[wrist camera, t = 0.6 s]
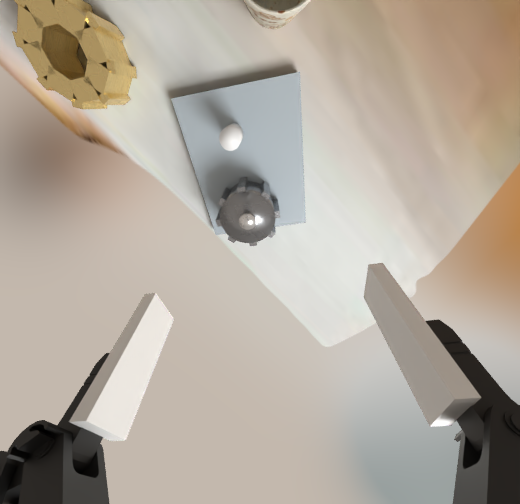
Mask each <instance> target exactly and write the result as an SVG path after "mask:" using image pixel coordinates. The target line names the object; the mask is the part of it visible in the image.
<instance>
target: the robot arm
mask: <svg viewBox="0 0 520 504" xmlns="http://www.w3.org/2000/svg"><path fill="white" fill-rule="evenodd" d="M364 299H365V301H366V303H367V305H368V307H369V308H370V310H371V312H372V314H373V316H374V318H375V320H376V322H377V324H378V326H379V328H380V330H381V332H382V334H383V336H384V338H385V340H386V342H387V344H388V346H389V347H390V349H391V351H392V353H393V355H394V357H395V359H396V361H397V363H398V365H399V367H400V369H401V371H402V373H403V375H404V377H405V379H406V381H407V383H408V385H409V387H410V388H411V390H412V392H413V394H414V396H415V398H416V400H417V402H418V404H419V406H420V408H421V410H422V412H423V414H424V416H425V418H426V420H427V422H428V423H429V425H430V426H448V425H449V426H450V425H452V424H453V423H454V422H455V421H457V422H458V423H459V425H460V426H461V428H462V430H461V431H460V432H459V433H458V434H457V435H456V437H455V439H454V440H456V441H457V442H458V441H460V450H459V458H458V465H457V474H456V482H455V490H454V499H453V504H520V405H518V404H516V403H515V402H514V401H513V400H511V399H510V398H509V396H508V395H507V394H506V393H505V392H504V391H503V390H502V389H501V388H500V386H499V385H498V384H497V383H496V381H495V380H494V379H493V378H492V377H491V375H490V374H489V373H488V372H487V371H486V369H485V368H484V367H483V366H482V364H481V363H480V362H479V361H478V360H477V358H476V357H475V356H474V355H473V354H471V352H470V350H469V349H468V348H467V346H466V345H465V344H463V343H462V340H461V339H460V338H459V337H458V335H457V334H456V333H455V332H454V331H453V329H451V328H450V327H449V326H447V325H446V324H444V323H443V322H442V321H440V320H431V321H425V320H424V319H423V317H422V316H421V315H420V313H419V312H418V311H417V309H416V308H415V307H414V305H413V304H412V302H411V301H410V300H409V298H408V297H407V295H406V294H405V293H404V291H403V290H402V289H401V287H400V286H399V285H398V283H397V282H396V280H395V279H394V278H393V276H392V275H391V274H390V272H389V271H388V270H387V268H386V267H385V265H384V264H383V263H378V264H370V265H368V272H367V278H366V285H365V291H364ZM173 320H174V318H173V317H172V316H171V314H170V313H169V311H168V310H167V308H166V307H165V305H164V304H163V303H162V301H161V300H160V298H159V297H158V295H157V294H156V293H152V294H145V295H144V297H143V298H142V300H141V302H140V303H139V305H138V307H137V309H136V310H135V312H134V314H133V315H132V317H131V319H130V320H129V322H128V324H127V325H126V327H125V329H124V330H123V332H122V334H121V335H120V337H119V339H118V340H117V342H116V344H115V345H114V347H113V349H112V350H111V352H110V353H106V354H105V355H104V356H103V357H102V358H101V359H100V360H99V362H97V363H96V365H95V366H94V368H93V370H92V371H91V373H90V376H89V377H88V378H87V379H86V381H85V383H84V386H82V387H81V389H80V390H79V392H78V394H77V396H76V397H75V399H74V400H73V402H72V403H71V405H70V407H69V408H68V410H67V411H66V413H65V415H64V416H63V418H62V419H61V421H60V422H59V424H58V425H54V424H52V423H49V422H47V421H45V420H41V421H37V422H35V423H33V424H32V425H30V426H29V427H27V428H26V429H25V430H24V431H23V432H22V433H21V434H20V435H19V436H18V437H17V438H16V439H15V440H14V442H13V443H12V445H11V447H10V448H9V450H8V452H4V451H0V504H109V497H108V488H107V480H106V471H105V462H104V453H103V447H102V445H101V444H100V443H101V440H102V438H105V439H108V440H110V441H123V440H126V438H127V435H128V433H129V431H130V428H131V426H132V423H133V421H134V418H135V416H136V413H137V411H138V408H139V406H140V403H141V400H142V398H143V395H144V393H145V390H146V388H147V385H148V383H149V380H150V378H151V375H152V373H153V370H154V368H155V365H156V363H157V360H158V358H159V355H160V353H161V350H162V348H163V345H164V343H165V340H166V338H167V335H168V333H169V330H170V328H171V325H172V322H173Z"/></svg>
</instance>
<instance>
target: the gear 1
mask: <svg viewBox="0 0 520 504" xmlns="http://www.w3.org/2000/svg"><path fill="white" fill-rule="evenodd" d="M14 1H15V2H16V3H17V4H18V22H17V33H16V32H13V31H12V32H13V35H14V39H15V42H16V45H17V47H21V48H22V49H23V51H24V53H25V54H26V56H27V58H28V59H29V61H30V63H31V64H32V66H33V68H34V69H35V71H36V73H37V74H38V76H39V77H38V78H37V80H38V81H39V82H40V83H41V84H42V85H43V86H44V87H45V88H46V89H47V90H55V91H56V92H58V93H60V94H61V95H63V96H64V97H66V98H67V99H69V100H70V101H72V105H73V107H76V108H80V109H105V108H107V105H125V104H126V103H127V102H128V101H129V100H130V98H129V96H128V91H129V88H130V84H131V81H132V78H137V76H136V67H134V66H131V63H130V61H129V58H128V56H127V53H126V50H125V48H124V45H123V43H122V40H123V39H124V38H125V37H124V36H123V35H122V33H121V32H120V30H119V29H118V28H117V26H116V25H114V24H112V23H110V22H108V21H106V20H104V19H102V18H101V17H99V16H97V15H95V14H93V12H92V6H91V5H89V4H88V3H86V2H84V1H82V0H14ZM79 43H80V45H81V47H82V49H83V51H84V53H85V56H86V58H87V60H88V61H87V66H86V72H85V71H84V69H83V67H82V65H81V63H80V61H79V59H78V57H77V52H78V46H79Z"/></svg>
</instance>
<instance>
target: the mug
mask: <svg viewBox="0 0 520 504" xmlns="http://www.w3.org/2000/svg"><path fill="white" fill-rule="evenodd" d="M243 1H244V2H245V4H246V6H247V7H248V9H249V11H250V12H251V14H252V16H253V17H254V19H255V20H256V21H257V22H258V23H259V24H260V25H262V26H263V27H265V28H268V29H278V28H281V27H283V26H285V25H286V24H287V23H289V22H290V21H291V20H292V19H293V18H294V17H295V16H296V15H297V14H298V13H299V12H300V11H301V10H302V9H303V8H304V7H305V6H306V5H307V4H308V3H309V2H310V1H311V0H243Z"/></svg>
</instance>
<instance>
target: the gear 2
mask: <svg viewBox="0 0 520 504" xmlns="http://www.w3.org/2000/svg"><path fill="white" fill-rule="evenodd" d="M218 205H220V206H222V207H220V210H219V213H218V215H217V218H216V224H217V227H220V226H222V227H223V229H224V231H225V232H226V233H227V234H228V235H229V237H228V240H230V241H232V242H233V243H234V242H235V241H236V240H237V241H239V242H244V243H249V244H250V246H255V245H257V242H258V241H260V240H262V239H264V238H266V237H267V236H269V237H270V238H271V237H272V236H273V235H274V234H275V219H276V218H280V210H279V204H278V199H273V198H272V195H271V193H270V185H269V184H267V183H266V182H265V181H263V182H262V184H259V183H257V182H252V181H248V179H247V177H242V178H240V179H239V182H238V184H236V185H235V186H233V187H232V188H231V189H229V188H227V187H226V188H225V189H224V191H223V193H222V195H221V197H220V199H219V202H218Z"/></svg>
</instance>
